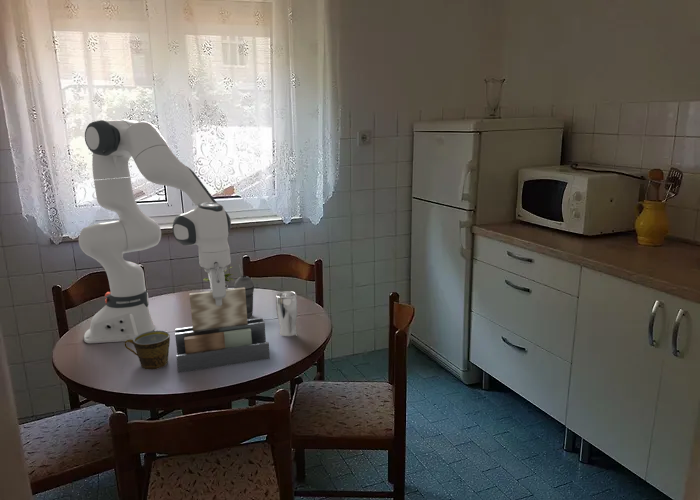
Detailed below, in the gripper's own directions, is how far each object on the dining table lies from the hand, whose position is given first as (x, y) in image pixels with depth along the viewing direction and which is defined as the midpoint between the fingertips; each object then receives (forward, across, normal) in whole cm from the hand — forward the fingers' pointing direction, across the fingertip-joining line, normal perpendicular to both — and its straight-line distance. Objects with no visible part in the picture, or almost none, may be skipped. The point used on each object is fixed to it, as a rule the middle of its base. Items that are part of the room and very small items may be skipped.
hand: (218, 303), depth 155 cm
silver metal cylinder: (+18, +9, -22) cm, 30 cm away
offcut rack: (+18, -2, 0) cm, 18 cm away
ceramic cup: (+18, 0, +21) cm, 28 cm away
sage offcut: (+16, -4, -4) cm, 17 cm away
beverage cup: (+18, +33, -11) cm, 39 cm away
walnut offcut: (+16, -6, +5) cm, 18 cm away
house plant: (+18, +54, -2) cm, 57 cm away
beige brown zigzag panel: (+16, 0, 0) cm, 16 cm away
